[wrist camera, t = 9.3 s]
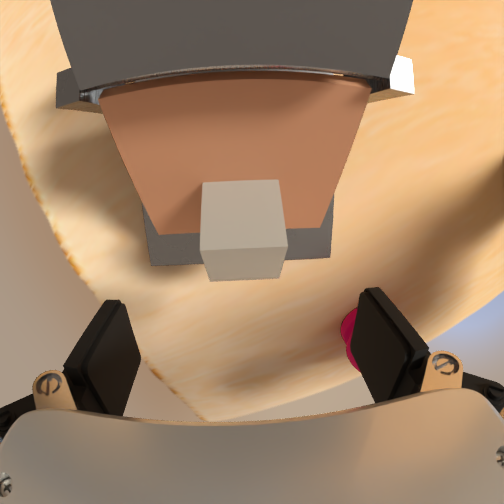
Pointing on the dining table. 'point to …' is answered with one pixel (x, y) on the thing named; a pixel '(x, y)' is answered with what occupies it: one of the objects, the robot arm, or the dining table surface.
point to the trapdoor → (232, 93)
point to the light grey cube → (242, 230)
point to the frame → (70, 97)
